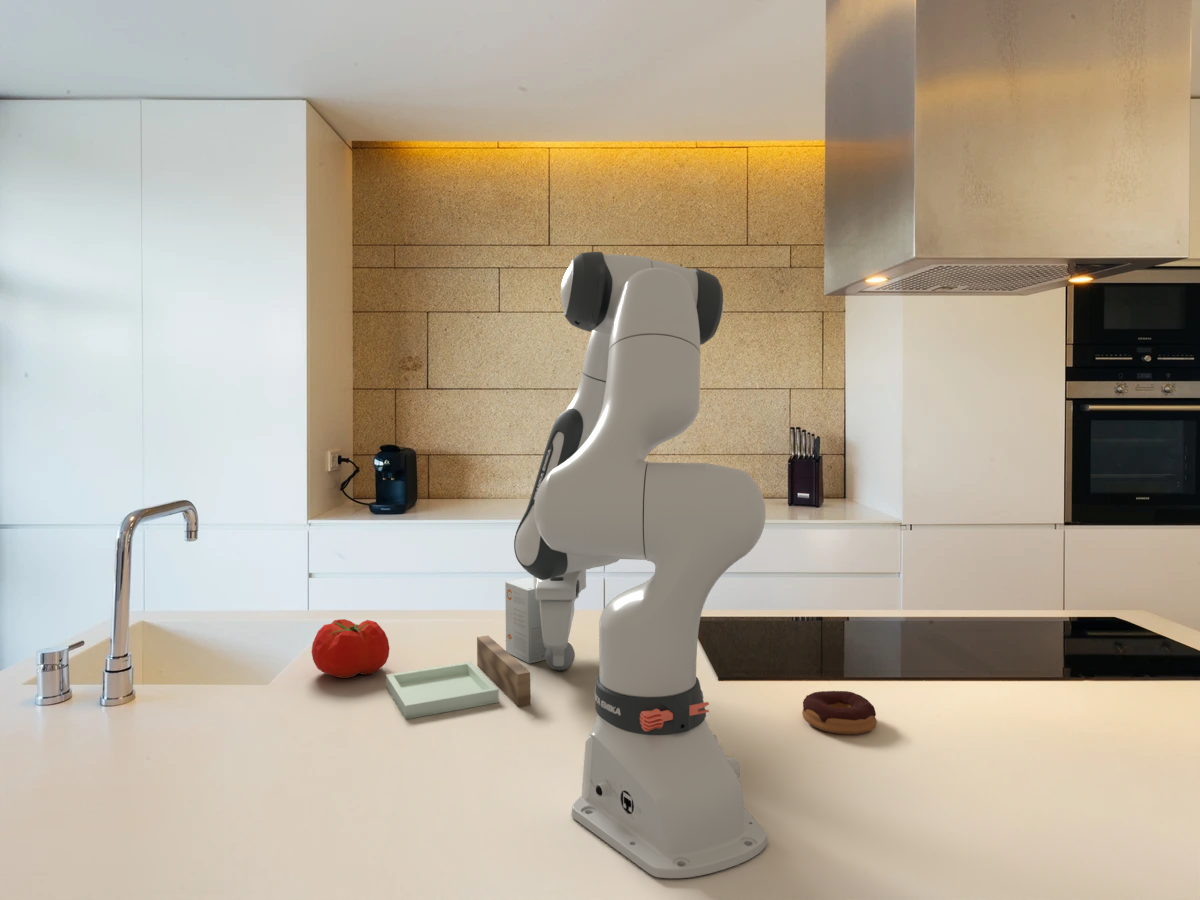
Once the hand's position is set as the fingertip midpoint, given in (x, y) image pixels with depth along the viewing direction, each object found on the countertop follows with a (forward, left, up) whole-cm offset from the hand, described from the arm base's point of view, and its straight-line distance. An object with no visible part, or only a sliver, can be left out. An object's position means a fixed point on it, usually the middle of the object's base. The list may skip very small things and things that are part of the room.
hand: (560, 658), depth 135 cm
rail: (-2, +11, -2) cm, 11 cm away
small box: (+9, +2, -2) cm, 10 cm away
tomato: (+14, +32, -2) cm, 35 cm away
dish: (-2, +21, -2) cm, 21 cm away
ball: (0, 0, 0) cm, 1 cm away
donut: (-38, -27, -2) cm, 46 cm away
